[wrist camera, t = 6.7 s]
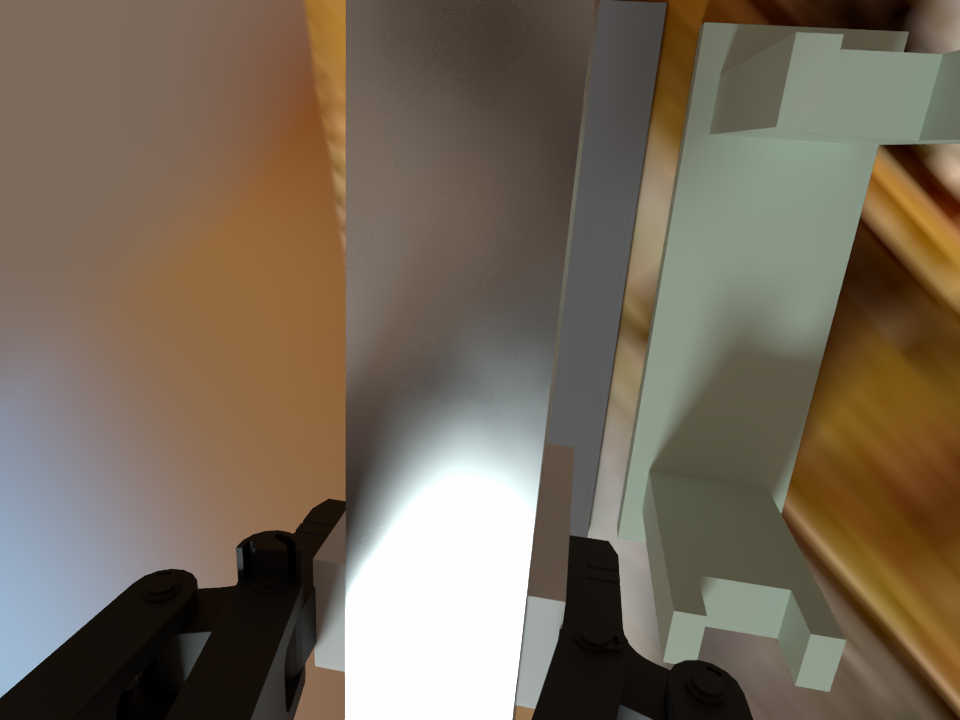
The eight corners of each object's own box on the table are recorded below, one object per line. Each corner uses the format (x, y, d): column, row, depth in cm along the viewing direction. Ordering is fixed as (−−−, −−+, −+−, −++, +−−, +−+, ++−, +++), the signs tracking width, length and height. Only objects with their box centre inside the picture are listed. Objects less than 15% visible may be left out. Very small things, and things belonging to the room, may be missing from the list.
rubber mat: (485, -3, 36) (483, -6, 35) (665, 5, 34) (666, 2, 34) (452, 512, 47) (450, 517, 46) (587, 533, 46) (587, 538, 45)
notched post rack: (699, 27, 35) (774, -56, 21) (895, 36, 33) (1117, -45, 19) (616, 526, 45) (628, 696, 31) (762, 548, 44) (843, 737, 30)
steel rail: (438, -166, 12) (346, -359, 8) (619, -165, 12) (637, -366, 7) (397, 867, 22) (345, 1059, 18) (495, 890, 22) (468, 1093, 17)
